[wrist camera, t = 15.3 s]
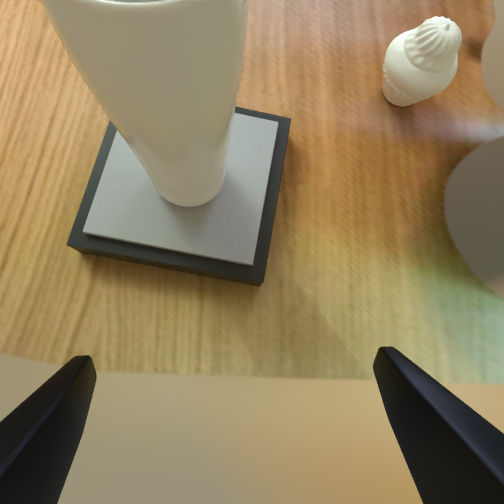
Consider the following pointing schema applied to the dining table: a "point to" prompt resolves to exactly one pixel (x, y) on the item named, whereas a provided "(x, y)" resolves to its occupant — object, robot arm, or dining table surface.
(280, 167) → the scale
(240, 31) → the white cup
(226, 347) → the dining table surface
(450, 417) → the robot arm
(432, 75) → the muffin
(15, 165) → the dining table surface
